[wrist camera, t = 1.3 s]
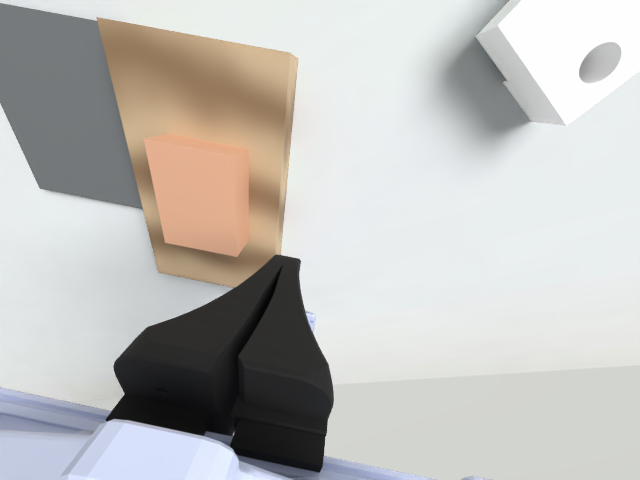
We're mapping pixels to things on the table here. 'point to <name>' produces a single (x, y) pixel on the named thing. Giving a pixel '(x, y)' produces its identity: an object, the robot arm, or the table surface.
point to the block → (200, 192)
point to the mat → (64, 105)
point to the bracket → (563, 53)
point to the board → (206, 129)
